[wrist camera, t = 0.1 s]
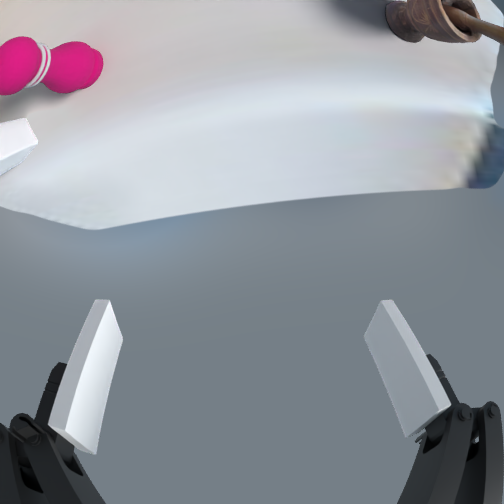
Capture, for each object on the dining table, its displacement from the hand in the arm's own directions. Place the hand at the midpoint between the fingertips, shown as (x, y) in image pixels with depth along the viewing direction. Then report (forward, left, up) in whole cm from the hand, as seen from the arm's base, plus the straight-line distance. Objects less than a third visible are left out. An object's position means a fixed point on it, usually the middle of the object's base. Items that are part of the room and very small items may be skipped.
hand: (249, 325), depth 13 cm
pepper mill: (-16, -22, -28) cm, 39 cm away
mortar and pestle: (-28, +25, -28) cm, 47 cm away
